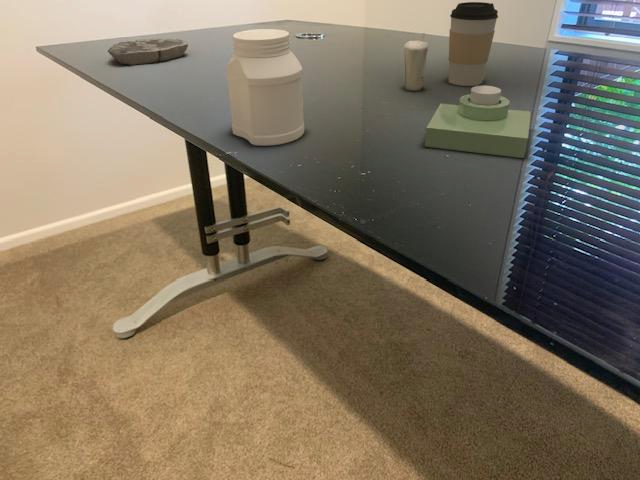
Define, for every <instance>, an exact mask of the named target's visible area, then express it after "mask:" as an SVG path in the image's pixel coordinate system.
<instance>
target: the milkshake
mask: <svg viewBox="0 0 640 480" xmlns="http://www.w3.org/2000/svg"><path fill="white" fill-rule="evenodd" d="M425 35H426V32H422V35H421V38H420V39H421V40H419V39H418V40H417V39H416V40H409V41H408V42H406V43H405V44H404V45H403V46H404V47H403V48H404V89H405V90H407V91H411V92H416V91H421V90H422V88H423V82H424V76H425V69H426V64H427V63H426V62H427V58H428V52H429V46H430V45H429V44H428V43H427V42H426V41H424V39H425Z"/></svg>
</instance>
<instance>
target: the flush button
mask: <svg viewBox="0 0 640 480" xmlns="http://www.w3.org/2000/svg"><path fill="white" fill-rule="evenodd" d="M469 94H470V101H469V102H471V103H474V104H477V105H487V106H488V105H497V104H499V101H500V96H502V89H501V88H499V87H497V86H492V85H475V86H471V88H470V93H469Z"/></svg>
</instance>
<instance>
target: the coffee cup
mask: <svg viewBox="0 0 640 480" xmlns="http://www.w3.org/2000/svg"><path fill="white" fill-rule="evenodd" d="M498 14H499V11H498V10H497V9H495V5H494V3H493V2H491V3H490V2H484V1H483V2H478V1H467V2H460V3H459V2H458V3H457V5H456V7H455V8H454V9H452V10H451V14H450V15H449V17H450V28H449V33H448V34H449V35H448V36H449V37H448V83H450V84H452V85H455V86H461V87H475V86H480V85H481V84H483V80H484V76H485V72H486V67H487V63H488V61H489V56H490V52H491V48H492V44H493V40H494V36H495V27H496V23H497V19H498V18H499V15H498Z"/></svg>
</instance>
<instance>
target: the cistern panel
mask: <svg viewBox="0 0 640 480" xmlns="http://www.w3.org/2000/svg"><path fill="white" fill-rule="evenodd" d="M470 94H471V93H468V94H464V95H462V96H460V98H459V100H458V104H451V103H440V104H439V105H438V107H437V109H436V111H435V112H434V114H433V115H432V118H431V119H430V121H429V123H428V124H427V126H426V128H425V140H424V147H425V148H433V149H442V150H451V151H458V152H459V151H460V152H467V153H476V154H484V155H492V156H500V157H501V156H502V157H509V158H517V159H518V158H519V159H524V158H525V155H526V150H527V146H528V141H529V135H530V125H531V116H532V115H531V114H532V112H531V111H529V110H518V109H510V108H509V107H510V102H511V101H510V99H508V98H507V97H505V96H502V95H501V96H500V101H499V104H497V105H488V106H487V105H477V104H474V103H471V102H469V101H470Z"/></svg>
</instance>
